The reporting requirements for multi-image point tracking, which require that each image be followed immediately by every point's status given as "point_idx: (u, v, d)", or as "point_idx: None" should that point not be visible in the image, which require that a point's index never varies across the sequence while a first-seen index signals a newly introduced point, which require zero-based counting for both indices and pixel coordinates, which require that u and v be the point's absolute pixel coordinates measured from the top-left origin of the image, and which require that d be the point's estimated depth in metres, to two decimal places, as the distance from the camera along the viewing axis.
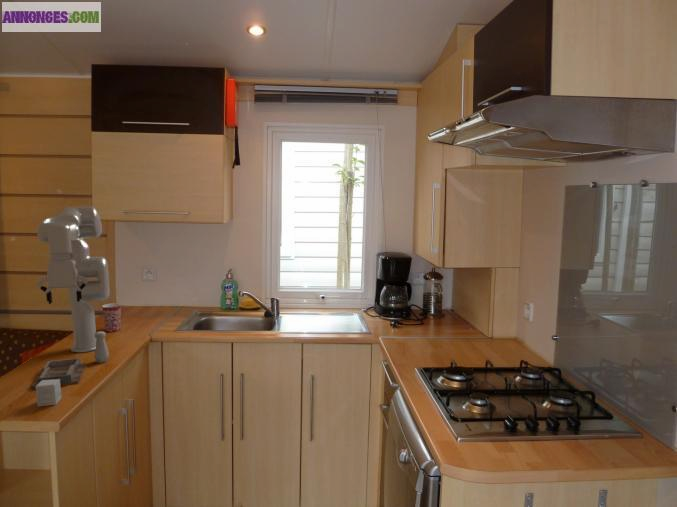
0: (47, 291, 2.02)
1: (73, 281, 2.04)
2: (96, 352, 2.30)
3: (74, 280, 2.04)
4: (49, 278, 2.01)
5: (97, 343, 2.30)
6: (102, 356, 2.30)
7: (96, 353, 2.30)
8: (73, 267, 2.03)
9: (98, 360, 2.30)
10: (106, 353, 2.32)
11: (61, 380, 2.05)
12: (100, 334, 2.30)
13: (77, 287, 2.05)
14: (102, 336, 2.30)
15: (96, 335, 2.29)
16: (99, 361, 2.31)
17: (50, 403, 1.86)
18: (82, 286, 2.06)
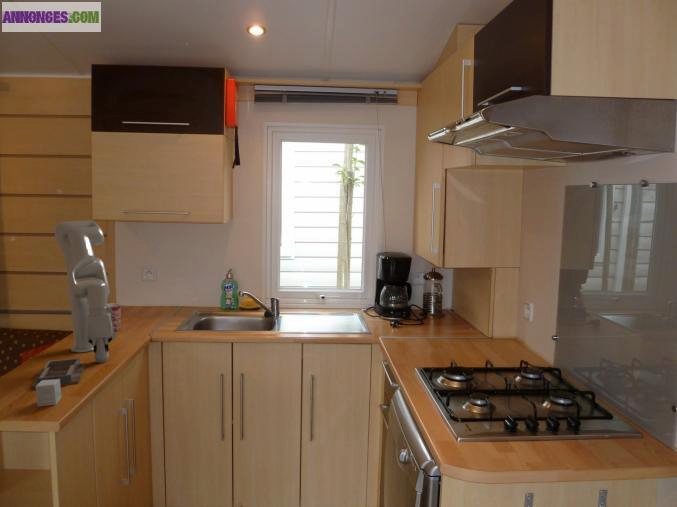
0: (94, 343, 2.30)
1: (109, 332, 2.30)
2: (96, 352, 2.30)
3: (110, 331, 2.31)
4: (88, 330, 2.28)
5: (97, 343, 2.30)
6: (102, 356, 2.30)
7: (96, 353, 2.30)
8: (109, 320, 2.30)
9: (98, 360, 2.30)
10: (106, 353, 2.32)
11: (61, 380, 2.05)
12: None
13: (106, 340, 2.31)
14: None
15: None
16: (99, 361, 2.31)
17: (50, 403, 1.86)
18: (109, 340, 2.32)
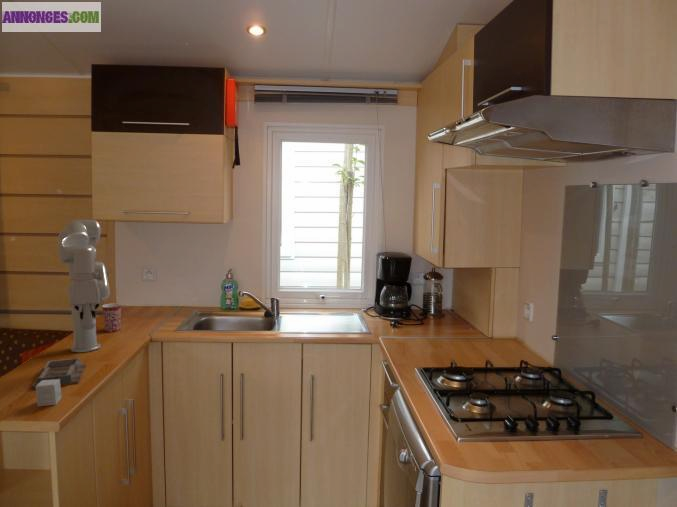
0: (80, 310, 2.24)
1: (96, 298, 2.25)
2: (83, 318, 2.25)
3: (97, 297, 2.25)
4: (74, 296, 2.22)
5: (84, 309, 2.25)
6: (89, 323, 2.25)
7: (83, 319, 2.25)
8: (96, 286, 2.25)
9: (85, 327, 2.25)
10: (93, 320, 2.26)
11: (61, 380, 2.05)
12: None
13: (93, 307, 2.26)
14: None
15: None
16: (86, 328, 2.25)
17: (50, 403, 1.86)
18: (96, 306, 2.27)
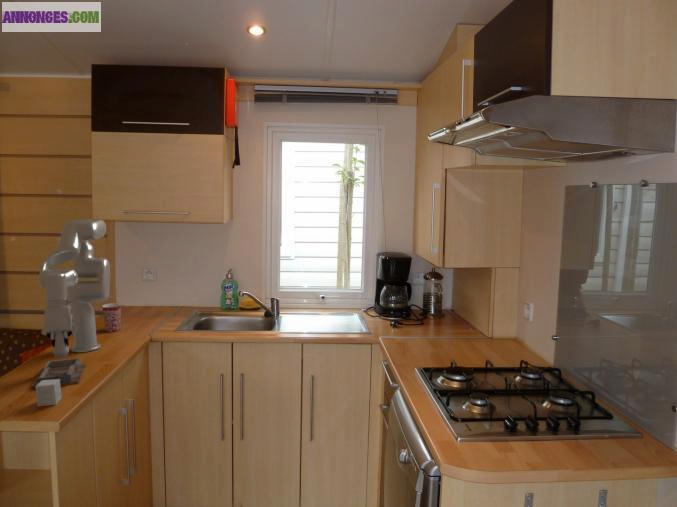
0: (52, 337, 2.17)
1: (68, 325, 2.18)
2: (55, 346, 2.17)
3: (69, 325, 2.18)
4: (46, 323, 2.15)
5: (56, 337, 2.17)
6: (61, 351, 2.17)
7: (55, 347, 2.17)
8: (68, 312, 2.17)
9: (57, 355, 2.17)
10: (65, 347, 2.19)
11: (61, 380, 2.05)
12: None
13: (66, 334, 2.19)
14: None
15: None
16: (58, 356, 2.18)
17: (50, 403, 1.86)
18: (69, 334, 2.19)
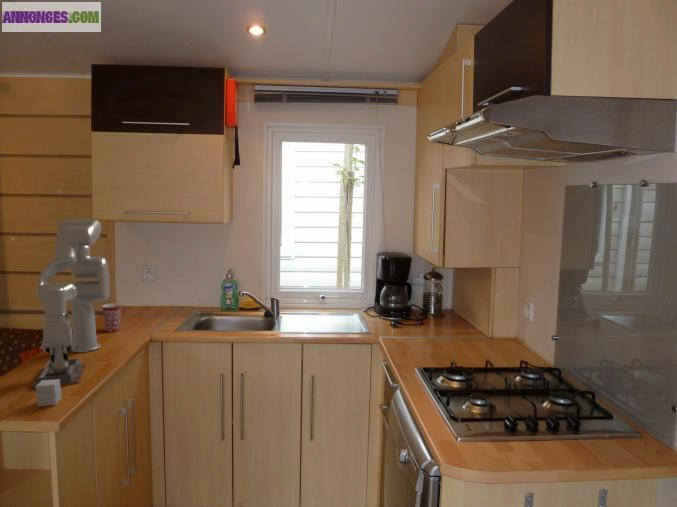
0: (51, 353, 2.14)
1: (68, 341, 2.14)
2: (54, 362, 2.14)
3: (69, 340, 2.14)
4: (45, 338, 2.12)
5: (55, 352, 2.14)
6: (61, 366, 2.14)
7: (54, 363, 2.14)
8: (68, 327, 2.14)
9: (56, 370, 2.14)
10: (65, 363, 2.15)
11: (61, 380, 2.05)
12: None
13: (65, 349, 2.15)
14: None
15: None
16: (57, 371, 2.14)
17: (50, 403, 1.86)
18: (68, 349, 2.16)
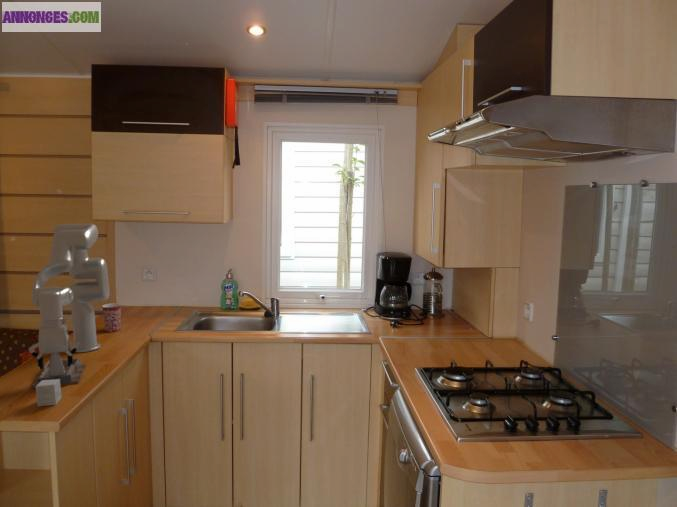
0: (38, 357, 2.05)
1: (64, 347, 2.06)
2: (50, 369, 2.06)
3: (65, 346, 2.06)
4: (40, 344, 2.04)
5: (51, 359, 2.06)
6: (57, 374, 2.06)
7: (50, 370, 2.06)
8: (64, 333, 2.06)
9: None
10: (61, 370, 2.08)
11: (61, 380, 2.05)
12: None
13: (68, 352, 2.08)
14: None
15: None
16: None
17: (50, 403, 1.86)
18: (73, 351, 2.09)
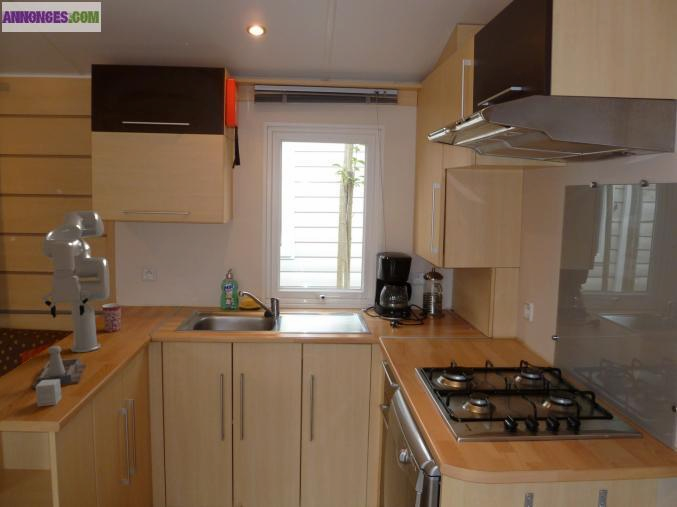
0: (51, 306, 2.11)
1: (76, 296, 2.12)
2: (50, 369, 2.06)
3: (77, 295, 2.12)
4: (53, 293, 2.09)
5: (51, 359, 2.06)
6: (57, 374, 2.06)
7: (50, 370, 2.06)
8: (76, 283, 2.11)
9: None
10: (61, 370, 2.08)
11: (61, 380, 2.05)
12: (54, 349, 2.06)
13: (80, 302, 2.13)
14: (57, 351, 2.06)
15: (50, 350, 2.06)
16: None
17: (50, 403, 1.86)
18: (85, 301, 2.14)
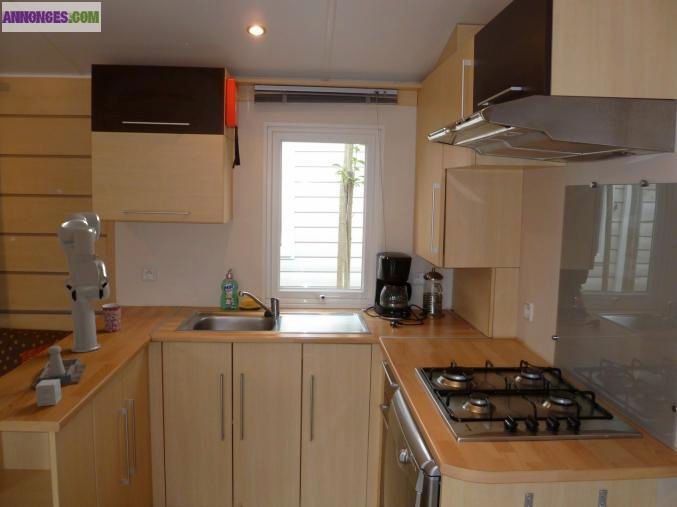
0: (72, 289, 2.20)
1: (96, 280, 2.22)
2: (50, 369, 2.06)
3: (97, 279, 2.22)
4: (74, 277, 2.19)
5: (51, 359, 2.06)
6: (57, 374, 2.06)
7: (50, 370, 2.06)
8: (96, 267, 2.21)
9: None
10: (61, 370, 2.08)
11: (61, 380, 2.05)
12: (54, 349, 2.06)
13: (99, 286, 2.23)
14: (57, 351, 2.06)
15: (50, 350, 2.06)
16: None
17: (50, 403, 1.86)
18: (104, 285, 2.24)
